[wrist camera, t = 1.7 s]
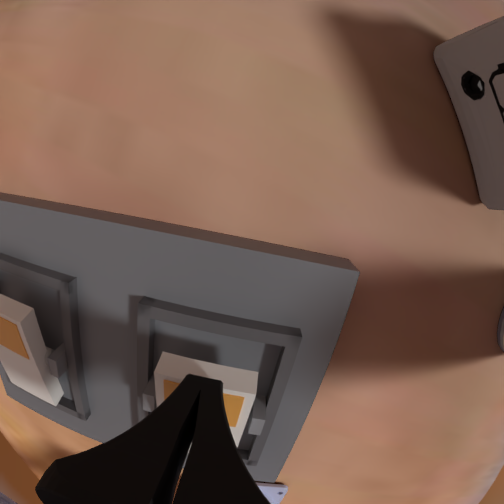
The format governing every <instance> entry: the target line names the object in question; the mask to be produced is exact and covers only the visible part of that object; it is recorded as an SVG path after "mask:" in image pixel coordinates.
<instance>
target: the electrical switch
mask: <svg viewBox="0 0 504 504" xmlns="http://www.w3.org/2000/svg"><path fill="white" fill-rule="evenodd" d="M433 54H434V61H435V63H436V65H437V67H438V69H439V72H440V74H441V76H442V78H443V81H444V83H445V85H446V88H447V90H448V93H449V95H450V98H451V100H452V103H453V105H454V108H455V111H456V114H457V116H458V119H459V122H460V125H461V128H462V131H463V134H464V137H465V141H466V144H467V147H468V151H469V154H470V158H471V162H472V165H473V169H474V173H475V178H476V182H477V186H478V191H479V196H480V199H481V201H482V203H483V204H484V205H485V206H486V207H487V208H488V209H493V210H504V16H503V17H500V18H498V19H495V20H493V21H491V22H488V23H486V24H483V25H481V26H479V27H476V28H474V29H472V30H470V31H467V32H465V33H463V34H461V35H459V36H456V37H454V38H452V39H450V40H448V41H446V42H444V43H442V44H440V45H438V46H436V48H435V50H434V53H433Z"/></svg>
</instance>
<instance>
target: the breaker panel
mask: <svg viewBox="0 0 504 504" xmlns="http://www.w3.org/2000/svg"><path fill="white" fill-rule="evenodd" d="M359 274H360V271H359V270H358V269H357V268H356V267H355V266H354V265H353V264H352V263H351V262H350V260H349V259H345V258H340V257H335V256H331V255H326V254H321V253H316V252H311V251H306V250H302V249H297V248H292V247H287V246H282V245H277V244H272V243H267V242H262V241H257V240H252V239H247V238H242V237H237V236H232V235H227V234H222V233H217V232H212V231H207V230H202V229H197V228H191V227H186V226H181V225H176V224H171V223H165V222H160V221H155V220H150V219H144V218H139V217H134V216H128V215H123V214H118V213H112V212H107V211H101V210H96V209H91V208H85V207H80V206H74V205H69V204H63V203H57V202H52V201H46V200H40V199H35V198H29V197H23V196H18V195H12V194H6V193H0V294H2V295H5V296H7V297H9V298H11V299H13V300H16V301H18V302H20V303H22V304H25V305H27V306H29V307H32V308H34V311H35V315H36V318H37V322H38V325H39V328H40V331H41V334H42V338H43V341H44V343H45V346H46V347H49V348H51V349H53V350H54V352H53V353H51V354H50V355H49V356H48V357H47V359H48V364H49V369H50V374H51V375H53V376H55V377H57V378H58V380H59V383H60V385H61V387H62V390H63V392H64V394H63V396H62V397H61V399H60V401H59V402H58V404H57V406H54V405H52V404H50V403H48V402H46V401H44V400H42V399H40V398H38V397H36V396H34V395H33V394H31V393H29V392H27V391H25V390H24V389H22V388H20V387H18V386H17V385H15V384H13V383H12V382H11V381H10V379H9V377H8V375H7V373H6V371H5V369H4V367H3V365H2V363H1V361H0V375H1V378H2V381H3V384H4V387H5V390H6V393H7V395H8V396H10V397H11V398H13V399H14V400H16V401H18V402H19V403H21V404H23V405H25V406H26V407H28V408H30V409H32V410H33V411H35V412H37V413H39V414H41V415H43V416H45V417H47V418H48V419H50V420H52V421H54V422H56V423H58V424H60V425H63V426H65V427H67V428H69V429H71V430H73V431H75V432H78V433H80V434H82V435H85V436H87V437H89V438H92V439H94V440H97V441H99V442H102V443H105V442H107V441H109V440H111V439H113V438H115V437H117V436H118V435H120V434H122V433H123V432H125V431H127V430H128V429H130V428H131V427H133V426H134V425H136V424H137V423H139V422H140V421H141V420H143V419H144V418H145V417H146V416H148V415H149V414H150V413H151V412H152V411H153V410H155V409H156V408H157V403H156V392H155V379H154V371H155V369H156V366H157V364H158V362H159V359H160V357H161V354H162V352H167V353H171V354H175V355H179V356H183V357H187V358H191V359H196V360H200V361H205V362H209V363H214V364H219V365H224V366H229V367H234V368H239V369H244V370H250V371H256V372H258V381H257V392H256V397H255V400H254V402H253V405H252V408H251V411H250V414H249V417H248V420H247V422H246V425H245V428H244V431H243V434H242V436H241V439H240V442H239V445H238V447H237V449H238V451H239V453H240V456H241V458H242V460H243V462H244V464H245V466H246V468H247V469H248V471H249V473H250V474H251V476H252V478H253V479H254V481H262V482H272V483H274V482H275V481H276V479H277V477H278V475H279V473H280V471H281V469H282V467H283V465H284V463H285V461H286V459H287V457H288V455H289V453H290V451H291V449H292V447H293V445H294V443H295V441H296V439H297V437H298V435H299V433H300V431H301V428H302V426H303V424H304V422H305V420H306V417H307V415H308V413H309V411H310V408H311V406H312V404H313V401H314V399H315V397H316V394H317V392H318V390H319V387H320V385H321V382H322V380H323V377H324V375H325V372H326V370H327V367H328V365H329V362H330V359H331V357H332V354H333V351H334V349H335V346H336V343H337V341H338V338H339V335H340V332H341V329H342V326H343V324H344V321H345V318H346V315H347V312H348V309H349V306H350V303H351V299H352V296H353V293H354V290H355V287H356V283H357V280H358V277H359ZM188 454H189V453H188ZM188 454H187V457H188ZM187 457H186V459H185V462H184V465H183V467H182V468H184V467H185V464H186V460H187Z"/></svg>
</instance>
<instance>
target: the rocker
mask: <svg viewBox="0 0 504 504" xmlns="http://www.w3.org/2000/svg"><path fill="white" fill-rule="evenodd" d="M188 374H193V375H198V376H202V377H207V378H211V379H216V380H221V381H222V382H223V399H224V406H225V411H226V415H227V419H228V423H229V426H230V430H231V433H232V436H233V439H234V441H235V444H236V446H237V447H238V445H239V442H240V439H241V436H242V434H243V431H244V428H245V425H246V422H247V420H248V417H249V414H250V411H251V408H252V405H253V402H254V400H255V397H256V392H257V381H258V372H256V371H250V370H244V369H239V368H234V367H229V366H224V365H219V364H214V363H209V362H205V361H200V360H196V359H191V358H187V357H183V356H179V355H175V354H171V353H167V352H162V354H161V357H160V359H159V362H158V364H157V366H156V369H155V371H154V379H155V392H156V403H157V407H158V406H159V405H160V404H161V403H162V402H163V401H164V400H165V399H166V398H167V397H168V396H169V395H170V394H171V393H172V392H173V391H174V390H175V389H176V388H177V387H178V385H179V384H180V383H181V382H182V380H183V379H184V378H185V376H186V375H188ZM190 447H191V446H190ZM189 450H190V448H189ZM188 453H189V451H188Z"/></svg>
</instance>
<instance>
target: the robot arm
mask: <svg viewBox="0 0 504 504" xmlns="http://www.w3.org/2000/svg"><path fill="white" fill-rule="evenodd" d="M190 446H191V447H190ZM189 448H190V450H189ZM188 451H189V454H188ZM187 454H188V457H187ZM186 457H187V460H186V464H185V467H184V470H183V473H182V476H181V479H180V483H179V486H178V489H177V492H176V495H175V498H174V501H173V497H174V493H175V488H176V485H177V481H178V478H179V475H180V473H181V470H182V467H183V465H184V462H185V459H186ZM35 490H36V493H37V495H38V497H39V498H40V500H41V501H42V502H43V503H44V504H172V501H173V504H279V503H280V502H281V500H282V499H283V497H284V496H285V494H286V493H287V491H288V486H286V485H281V484H269V483H259V482H255V481H254V479H253V478H252V476H251V474H250V473H249V471H248V469H247V468H246V466H245V464H244V462H243V460H242V458H241V456H240V453H239V451H238V449H237V446H236V444H235V441H234V439H233V436H232V433H231V430H230V426H229V423H228V419H227V415H226V411H225V406H224V399H223V382H222V381H221V380H216V379H211V378H207V377H202V376H198V375H193V374H188V375H186V376H185V378H184V379H183V380H182V382H181V383H180V384H179V385H178V387H177V388H176V389H175V390H174V391H173V392H172V393H171V394H170V395H169V396H168V397H167V398H166V399H165V400H164V401H163V402H162V403H161V404H160V405H159V406H158V407H157V408H156V409H155V410H153V411H152V412H151V413H150V414H149V415H148V416H146V417H145V418H144V419H143V420H141V421H140V422H139V423H137V424H136V425H134V426H133V427H131V428H130V429H128V430H127V431H125V432H123V433H122V434H120V435H118V436H117V437H115V438H113V439H111V440H109V441H107V442H105V443H103V444H101V445H98V446H96V447H94V448H91V449H89V450H87V451H84V452H81V453H78V454H75V455H71V456H68V457H64V458H61V459H57V460H55V461H54V462H53V463H52V464H51V466H50V467H49V468H48V469H47V470H46V471H45V473H44V474H43V476H42V477H41V479H40V481H39V483H38V484H37V486H36V489H35ZM0 504H17V503H16V502H14V501H13V500H11V499H10V498H8V497H7V496H6V495H4V494H3V493H1V492H0Z"/></svg>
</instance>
